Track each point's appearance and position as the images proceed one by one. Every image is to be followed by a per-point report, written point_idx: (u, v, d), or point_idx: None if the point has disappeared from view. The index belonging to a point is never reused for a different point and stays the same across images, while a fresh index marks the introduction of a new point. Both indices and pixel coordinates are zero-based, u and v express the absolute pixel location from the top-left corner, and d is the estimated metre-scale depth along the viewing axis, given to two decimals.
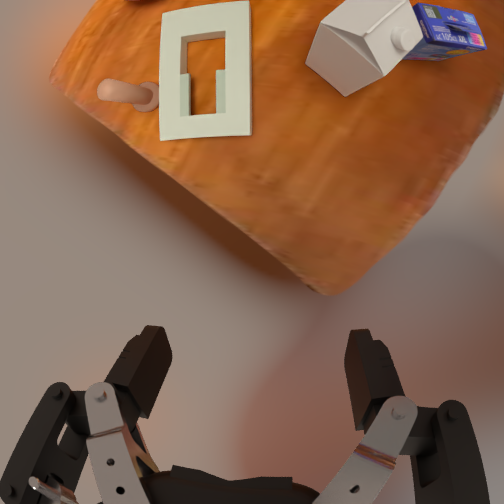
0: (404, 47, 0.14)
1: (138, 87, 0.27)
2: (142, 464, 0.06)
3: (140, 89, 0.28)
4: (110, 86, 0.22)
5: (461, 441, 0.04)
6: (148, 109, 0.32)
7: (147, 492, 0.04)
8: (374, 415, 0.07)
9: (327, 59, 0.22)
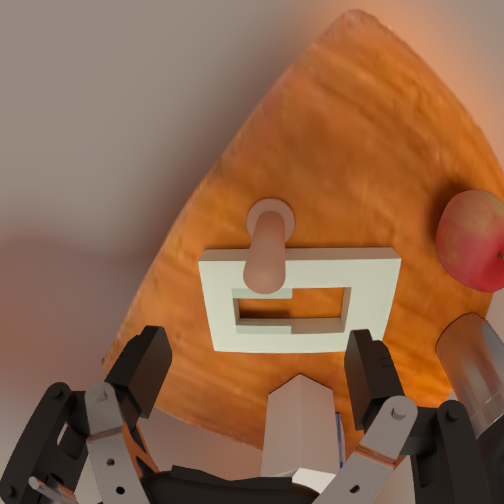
0: None
1: None
2: (142, 464, 0.06)
3: None
4: (267, 285, 0.17)
5: (461, 441, 0.04)
6: (248, 229, 0.26)
7: (147, 492, 0.04)
8: (374, 415, 0.07)
9: (287, 425, 0.29)
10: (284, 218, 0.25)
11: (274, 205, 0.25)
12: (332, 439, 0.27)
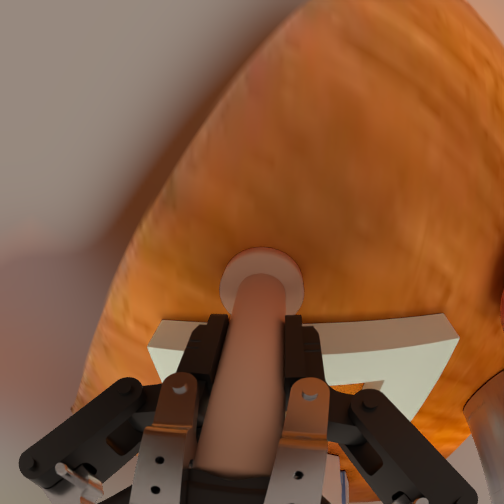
0: None
1: None
2: None
3: None
4: None
5: (391, 426, 0.06)
6: (224, 301, 0.15)
7: (182, 500, 0.04)
8: (289, 394, 0.08)
9: None
10: (286, 286, 0.14)
11: (268, 264, 0.14)
12: None
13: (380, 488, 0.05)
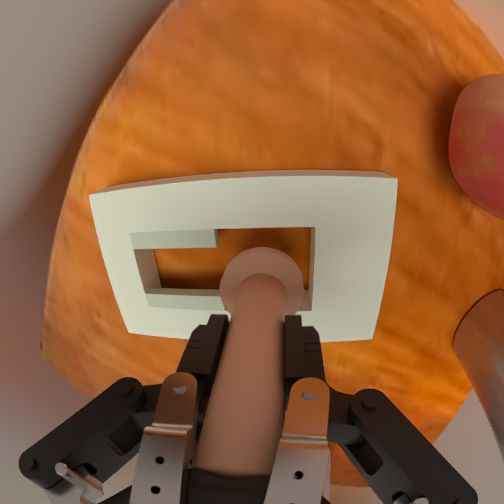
0: None
1: None
2: None
3: None
4: None
5: (391, 426, 0.06)
6: (224, 301, 0.15)
7: (182, 500, 0.04)
8: (289, 394, 0.08)
9: None
10: (286, 286, 0.14)
11: (268, 264, 0.14)
12: None
13: (380, 488, 0.05)
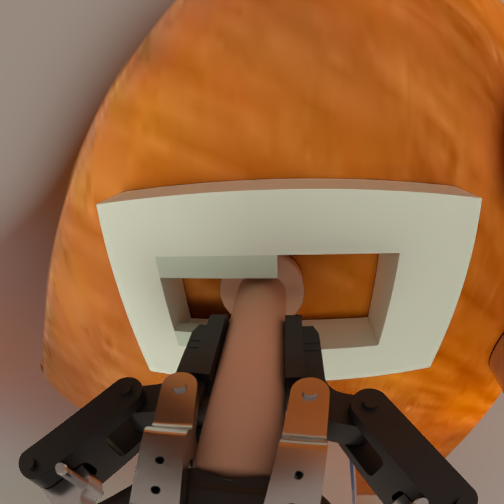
0: None
1: None
2: None
3: None
4: None
5: (391, 426, 0.05)
6: (224, 301, 0.15)
7: (182, 500, 0.04)
8: (289, 394, 0.08)
9: None
10: (286, 285, 0.14)
11: None
12: (344, 502, 0.14)
13: (380, 488, 0.05)
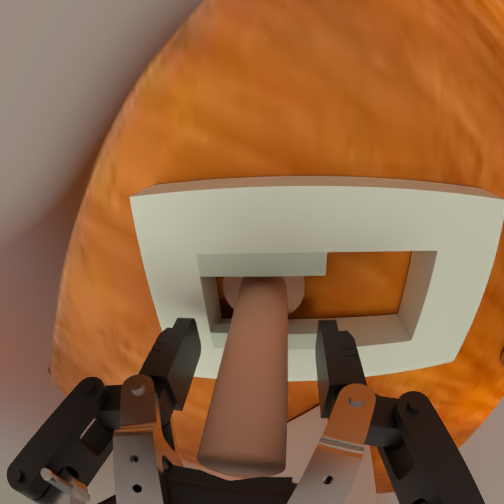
0: None
1: None
2: (167, 462, 0.06)
3: None
4: (248, 472, 0.06)
5: (429, 431, 0.05)
6: (227, 296, 0.15)
7: (164, 495, 0.04)
8: (333, 402, 0.07)
9: None
10: (287, 281, 0.15)
11: None
12: (370, 498, 0.13)
13: (404, 493, 0.04)
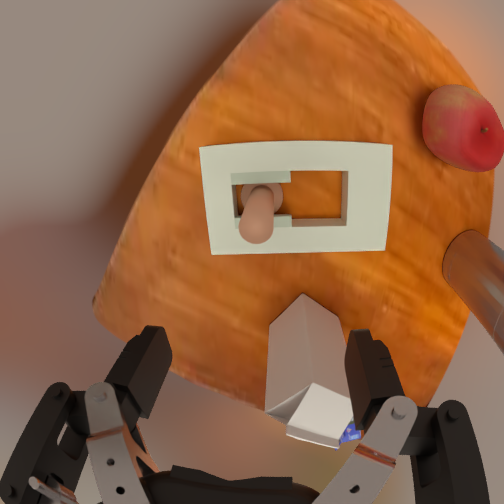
0: None
1: None
2: (142, 464, 0.06)
3: None
4: (258, 236, 0.20)
5: (461, 441, 0.04)
6: (243, 202, 0.30)
7: (147, 492, 0.04)
8: (374, 415, 0.07)
9: (293, 343, 0.29)
10: (273, 191, 0.29)
11: None
12: None
13: (423, 503, 0.04)
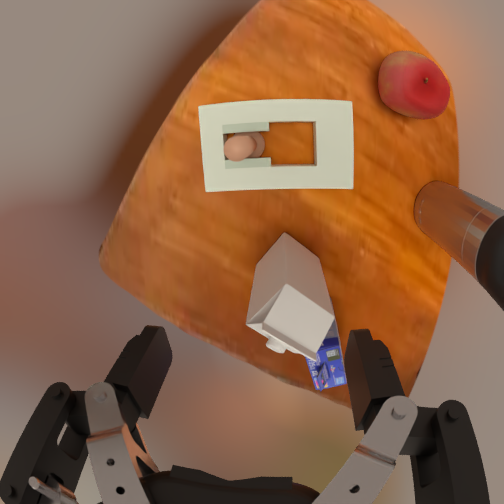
0: (267, 345, 0.28)
1: None
2: (142, 464, 0.06)
3: None
4: (238, 155, 0.26)
5: (461, 441, 0.04)
6: None
7: (146, 492, 0.04)
8: (374, 415, 0.07)
9: (273, 266, 0.34)
10: (256, 140, 0.34)
11: (249, 132, 0.34)
12: (321, 285, 0.33)
13: (423, 503, 0.04)
